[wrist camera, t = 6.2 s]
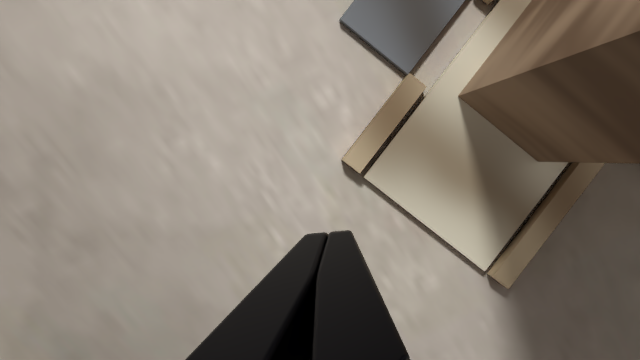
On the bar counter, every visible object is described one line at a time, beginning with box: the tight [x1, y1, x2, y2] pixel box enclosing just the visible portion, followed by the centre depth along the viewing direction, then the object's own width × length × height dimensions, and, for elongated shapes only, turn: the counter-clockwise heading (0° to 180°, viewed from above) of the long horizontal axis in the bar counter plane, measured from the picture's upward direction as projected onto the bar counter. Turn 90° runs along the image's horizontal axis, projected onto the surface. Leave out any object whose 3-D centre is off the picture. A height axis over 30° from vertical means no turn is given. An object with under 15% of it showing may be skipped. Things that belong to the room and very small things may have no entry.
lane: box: [339, 0, 605, 289], centre depth 20 cm, size 21×18×3 cm
